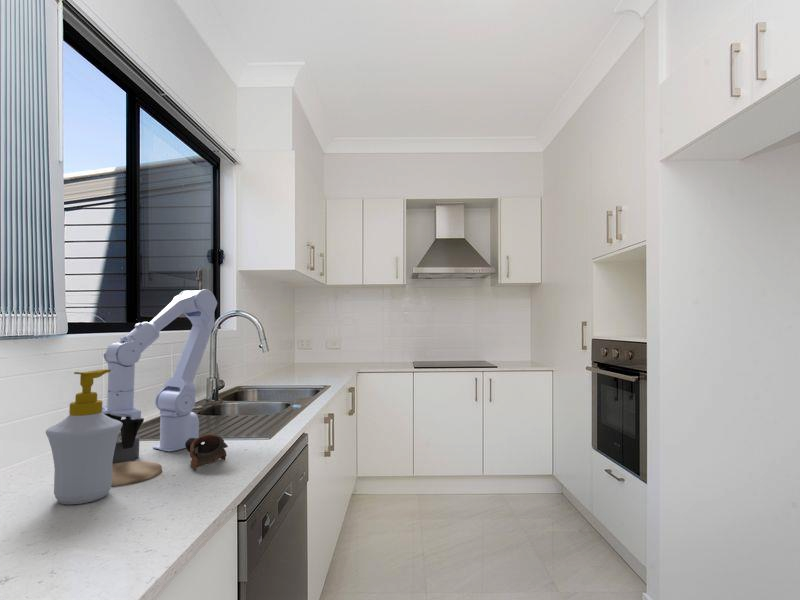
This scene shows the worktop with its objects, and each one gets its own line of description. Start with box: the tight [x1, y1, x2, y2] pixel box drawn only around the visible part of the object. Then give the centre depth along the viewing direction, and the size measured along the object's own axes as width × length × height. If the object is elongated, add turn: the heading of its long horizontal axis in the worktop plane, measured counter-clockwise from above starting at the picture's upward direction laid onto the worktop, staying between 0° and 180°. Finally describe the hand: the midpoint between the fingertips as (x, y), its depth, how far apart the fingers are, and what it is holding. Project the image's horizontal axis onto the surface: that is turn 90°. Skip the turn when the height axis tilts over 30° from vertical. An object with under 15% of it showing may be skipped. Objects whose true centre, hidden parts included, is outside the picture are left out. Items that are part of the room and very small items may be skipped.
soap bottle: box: [45, 369, 123, 505], centre depth 96 cm, size 13×13×25 cm
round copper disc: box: [111, 460, 163, 487], centre depth 110 cm, size 16×16×1 cm
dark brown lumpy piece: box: [185, 433, 229, 471], centre depth 117 cm, size 12×10×8 cm
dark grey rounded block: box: [113, 435, 140, 464], centre depth 120 cm, size 12×4×5 cm, turn 149°
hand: (119, 445), depth 121 cm, fingers open, 7 cm apart
